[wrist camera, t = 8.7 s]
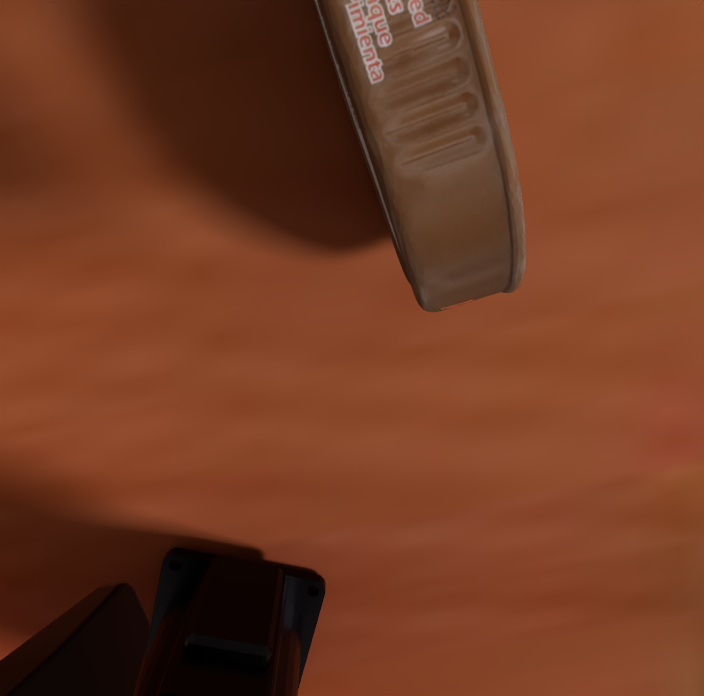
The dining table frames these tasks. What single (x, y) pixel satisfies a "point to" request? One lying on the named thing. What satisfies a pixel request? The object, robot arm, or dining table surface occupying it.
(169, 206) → the dining table surface
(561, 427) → the dining table surface
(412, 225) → the tin
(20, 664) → the robot arm
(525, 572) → the dining table surface
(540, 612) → the dining table surface
